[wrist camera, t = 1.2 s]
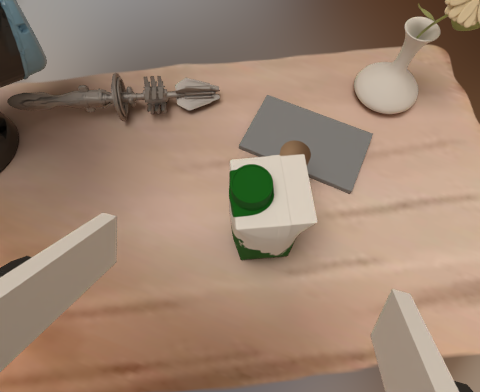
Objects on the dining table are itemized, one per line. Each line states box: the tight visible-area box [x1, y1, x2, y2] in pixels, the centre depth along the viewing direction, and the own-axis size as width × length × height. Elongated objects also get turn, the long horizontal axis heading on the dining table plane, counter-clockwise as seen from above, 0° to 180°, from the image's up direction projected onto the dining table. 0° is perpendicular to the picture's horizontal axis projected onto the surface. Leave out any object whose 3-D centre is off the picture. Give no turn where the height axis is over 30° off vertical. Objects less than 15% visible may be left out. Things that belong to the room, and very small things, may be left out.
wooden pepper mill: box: [279, 140, 311, 165], centre depth 44 cm, size 4×4×11 cm
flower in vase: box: [354, 0, 480, 114], centre depth 44 cm, size 13×11×25 cm
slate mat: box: [239, 95, 373, 194], centre depth 52 cm, size 20×12×1 cm, turn 64°
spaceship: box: [8, 73, 220, 121], centre depth 51 cm, size 8×35×8 cm
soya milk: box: [229, 154, 317, 260], centre depth 37 cm, size 9×9×20 cm
